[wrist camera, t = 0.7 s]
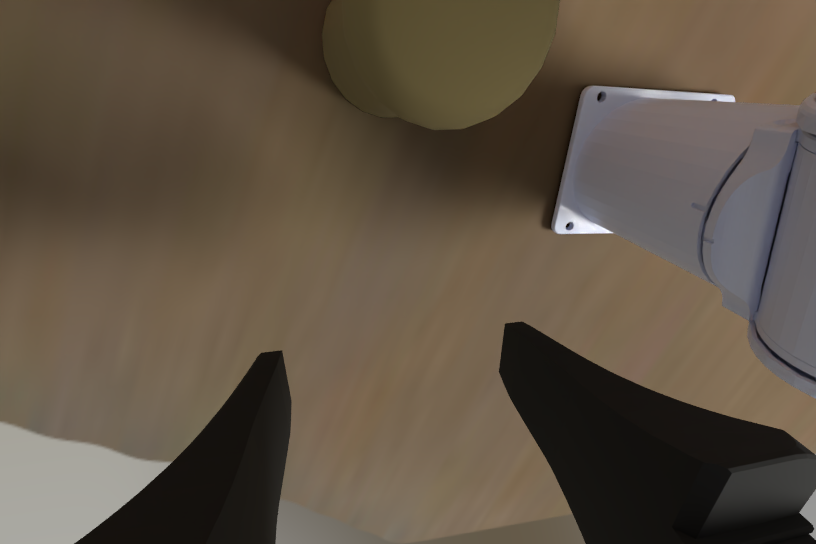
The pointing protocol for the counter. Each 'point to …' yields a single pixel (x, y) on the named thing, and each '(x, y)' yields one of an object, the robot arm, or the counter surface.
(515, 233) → the counter surface
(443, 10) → the cork
